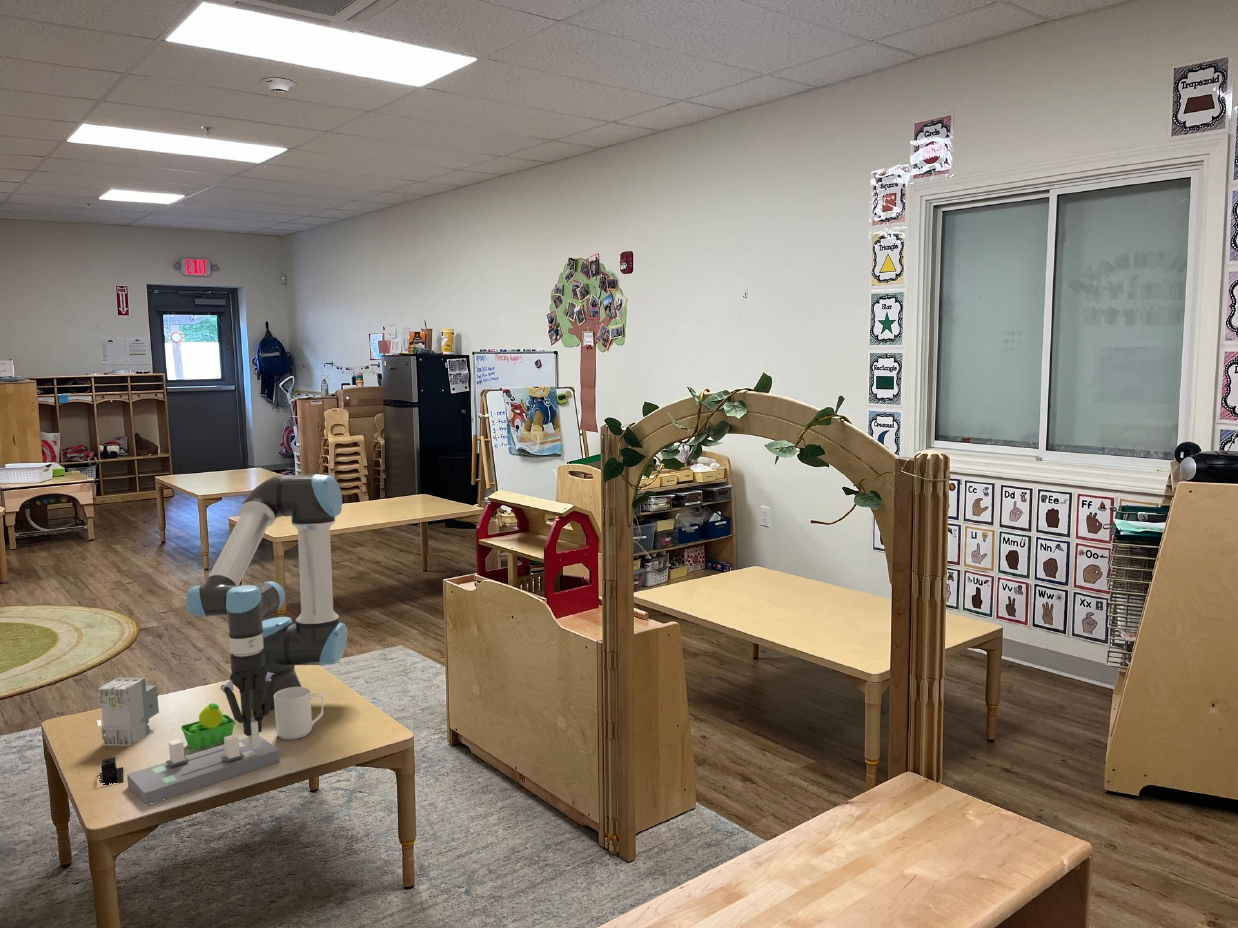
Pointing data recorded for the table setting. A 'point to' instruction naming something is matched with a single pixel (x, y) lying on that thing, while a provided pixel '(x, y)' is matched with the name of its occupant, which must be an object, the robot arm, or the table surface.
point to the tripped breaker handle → (231, 748)
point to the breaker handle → (176, 753)
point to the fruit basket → (208, 728)
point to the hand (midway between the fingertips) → (254, 746)
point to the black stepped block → (110, 772)
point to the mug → (294, 712)
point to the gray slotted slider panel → (199, 771)
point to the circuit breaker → (126, 710)
